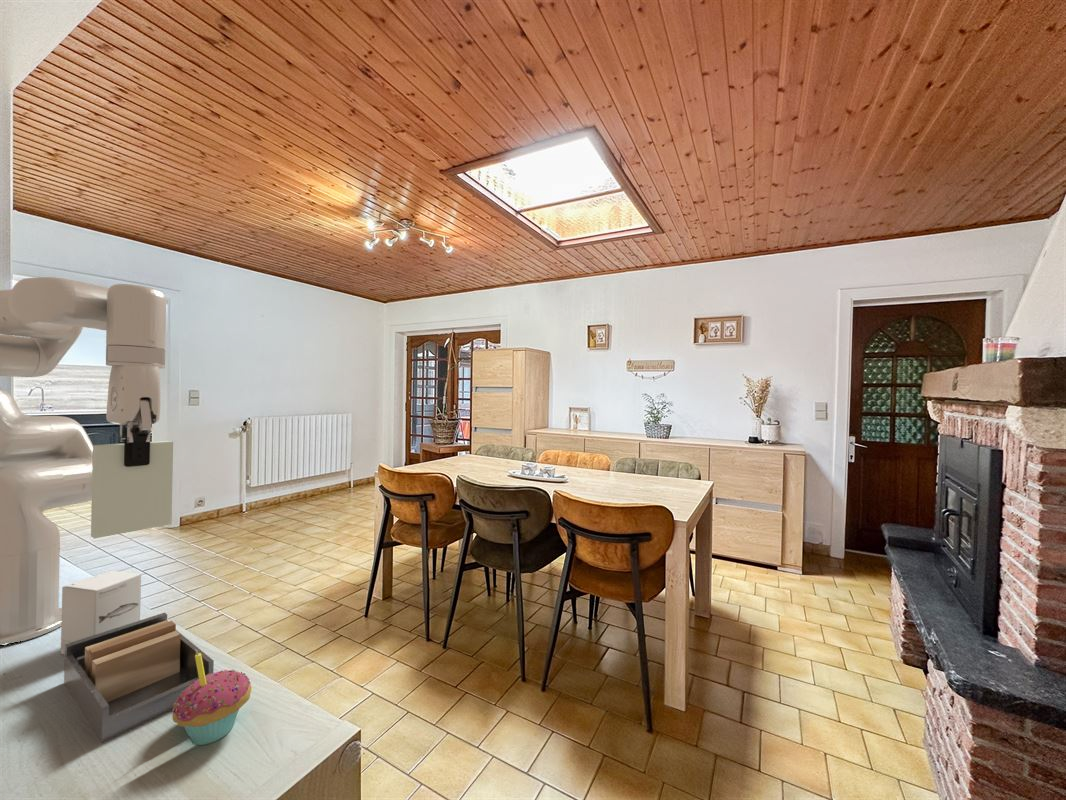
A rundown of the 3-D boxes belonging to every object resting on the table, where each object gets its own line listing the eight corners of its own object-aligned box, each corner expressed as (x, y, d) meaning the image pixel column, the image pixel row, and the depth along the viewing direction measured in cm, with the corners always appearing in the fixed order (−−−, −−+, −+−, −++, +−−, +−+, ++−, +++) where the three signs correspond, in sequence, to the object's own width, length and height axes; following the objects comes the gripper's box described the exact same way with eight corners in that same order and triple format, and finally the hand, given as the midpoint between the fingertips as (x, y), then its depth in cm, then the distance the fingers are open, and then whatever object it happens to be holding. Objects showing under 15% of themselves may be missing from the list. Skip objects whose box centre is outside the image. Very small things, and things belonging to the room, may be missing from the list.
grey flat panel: (90, 536, 71) (92, 445, 71) (167, 522, 79) (169, 440, 79) (94, 538, 70) (96, 446, 69) (171, 524, 78) (173, 441, 78)
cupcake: (187, 768, 52) (189, 670, 52) (160, 737, 57) (161, 647, 57) (262, 723, 59) (264, 637, 59) (233, 699, 64) (234, 619, 64)
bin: (63, 690, 65) (64, 644, 65) (164, 652, 75) (164, 612, 75) (101, 752, 54) (102, 696, 54) (212, 697, 64) (213, 651, 64)
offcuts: (84, 691, 63) (85, 644, 63) (166, 659, 71) (167, 617, 71) (95, 707, 60) (96, 657, 60) (179, 671, 68) (180, 627, 68)
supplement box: (92, 667, 71) (94, 590, 71) (58, 660, 72) (60, 585, 72) (141, 642, 78) (142, 573, 78) (109, 637, 80) (111, 569, 80)
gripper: (93, 358, 75) (91, 462, 75) (121, 354, 67) (119, 473, 67) (148, 361, 82) (146, 458, 82) (181, 359, 73) (178, 467, 73)
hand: (134, 464), depth 74 cm, fingers closed on grey flat panel, 2 cm apart
